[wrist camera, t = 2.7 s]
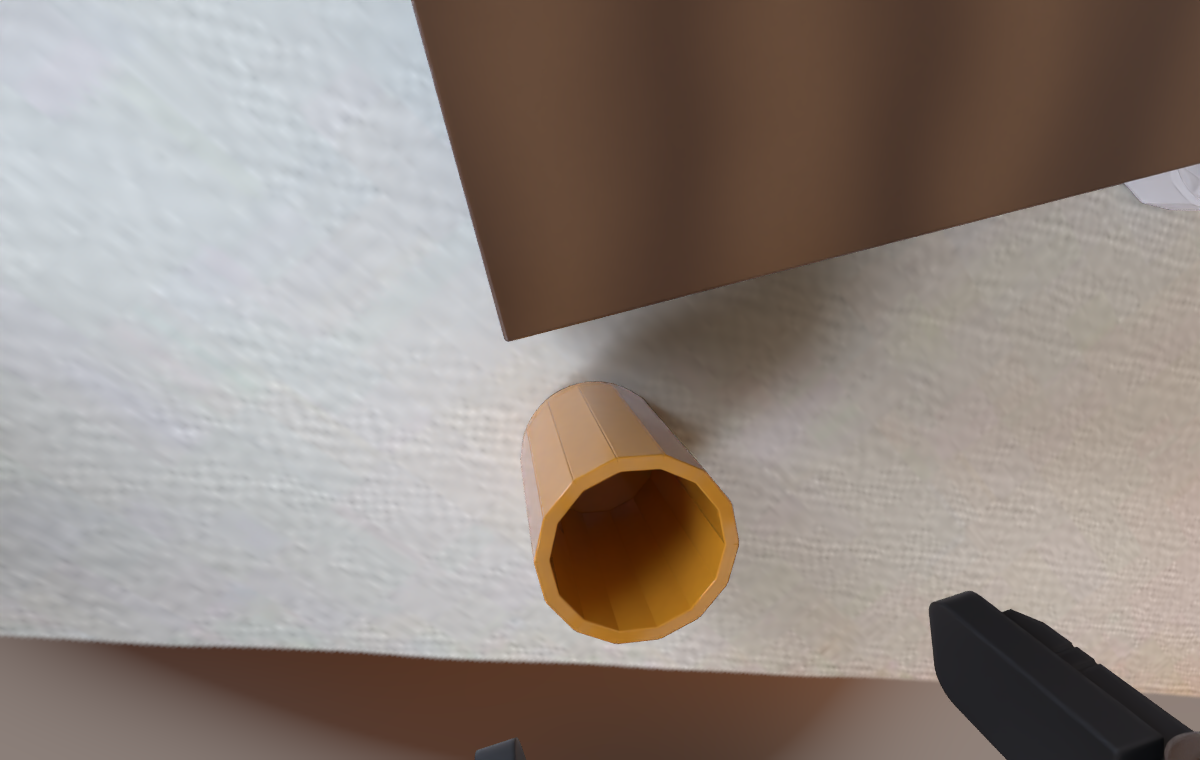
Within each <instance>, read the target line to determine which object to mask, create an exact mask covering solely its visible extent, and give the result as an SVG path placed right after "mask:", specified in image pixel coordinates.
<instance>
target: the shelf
mask: <svg viewBox="0 0 1200 760" xmlns="http://www.w3.org/2000/svg"><path fill="white" fill-rule="evenodd" d="M411 2H412V6H413V9H414V13H415V16H416V20H417V24H418V27H419V31H420V35H421V38H422V42H423V45H424V49H425V53H426V56H427V60H428V64H429V67H430V71H431V75H432V78H433V82H434V85H435V89H436V93H437V96H438V100H439V104H440V107H441V111H442V114H443V118H444V122H445V125H446V129H447V133H448V136H449V140H450V143H451V147H452V151H453V154H454V158H455V162H456V165H457V169H458V172H459V176H460V180H461V183H462V187H463V191H464V194H465V198H466V201H467V205H468V209H469V212H470V216H471V220H472V223H473V227H474V230H475V234H476V238H477V241H478V245H479V249H480V252H481V256H482V259H483V263H484V267H485V270H486V274H487V278H488V281H489V285H490V288H491V292H492V296H493V299H494V303H495V307H496V310H497V314H498V318H499V321H500V325H501V328H502V332H503V336H504V339H505V340H506V341H508V342H509V341H513V340H517V339H521V338H525V337H529V336H533V335H536V334H540V333H544V332H548V331H552V330H556V329H560V328H564V327H568V326H571V325H575V324H579V323H583V322H587V321H591V320H595V319H599V318H603V317H606V316H610V315H614V314H618V313H622V312H626V311H630V310H634V309H637V308H641V307H645V306H649V305H653V304H657V303H661V302H665V301H669V300H672V299H676V298H680V297H684V296H688V295H692V294H696V293H700V292H703V291H707V290H711V289H715V288H719V287H723V286H727V285H731V284H735V283H738V282H742V281H746V280H750V279H754V278H758V277H762V276H766V275H769V274H773V273H777V272H781V271H785V270H789V269H793V268H797V267H801V266H804V265H808V264H812V263H816V262H820V261H824V260H828V259H832V258H835V257H839V256H843V255H847V254H851V253H855V252H859V251H863V250H867V249H870V248H874V247H878V246H882V245H886V244H890V243H894V242H898V241H902V240H905V239H909V238H913V237H917V236H921V235H925V234H929V233H933V232H936V231H940V230H944V229H948V228H952V227H956V226H960V225H964V224H968V223H971V222H975V221H979V220H983V219H987V218H991V217H995V216H999V215H1002V214H1006V213H1010V212H1014V211H1018V210H1022V209H1026V208H1030V207H1034V206H1037V205H1041V204H1045V203H1049V202H1053V201H1057V200H1061V199H1065V198H1068V197H1072V196H1076V195H1080V194H1084V193H1088V192H1092V191H1096V190H1100V189H1103V188H1107V187H1111V186H1115V185H1119V184H1123V183H1127V182H1131V181H1134V180H1138V179H1142V178H1146V177H1150V176H1154V175H1158V174H1162V173H1166V172H1169V171H1173V170H1177V169H1181V168H1185V167H1189V166H1193V165H1197V164H1200V0H411Z"/></svg>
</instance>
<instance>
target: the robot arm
mask: <svg viewBox="0 0 1200 760" xmlns="http://www.w3.org/2000/svg"><path fill="white" fill-rule="evenodd" d="M929 617H930V627H931V637H932V647H933V656H934V666H935V671H936V674H937V677H938V680H939V682H940V684H941V686H942V688H943V690H944V692H945V693H946V695H947V696H948V698H949V699H950V700H951V702H953V704H954V705H955V706H956V707H957V708H958V709H959V710H960V711H961V712H962V713H963V714H964V715H965V717H967V719H968V720H969V721H970V722H971V723H972V724H973V725H974V726H975V727H976V728H977V729H978V730H979V731H980V732H981V733H982V734H983V735H984V736H985V737H986V739H987V740H989V742H990V743H991V744H992V745H993V746H994V747H995V748H996V749H997V750H998V751H999V752H1000V753H1001V754H1002V755H1003V756H1004V757H1005V758H1006V759H1007V760H1200V732H1194V731H1193V730H1191V729H1190V728H1188V727H1187V726H1185V725H1184V724H1182V723H1181V722H1180V721H1178V720H1177V719H1176V718H1174V717H1173V716H1171V715H1170V714H1169V713H1167V712H1166V711H1164V710H1163V709H1162V708H1160V707H1159V706H1158V705H1156V704H1155V703H1153V702H1152V701H1151V700H1149V699H1148V698H1147V697H1145V696H1144V695H1143V694H1141V693H1140V692H1138V691H1137V690H1136V689H1134V688H1133V687H1132V686H1130V685H1129V684H1127V683H1126V682H1125V681H1123V680H1122V679H1121V678H1119V677H1118V676H1116V675H1115V674H1114V673H1112V672H1111V671H1110V670H1108V669H1107V668H1105V667H1104V666H1103V665H1101V664H1097V663H1096V662H1095V660H1094V659H1093V658H1092V657H1090V656H1089V655H1088V654H1086V653H1085V652H1083V651H1082V650H1081V649H1079V648H1078V647H1073V645H1072V643H1071V642H1070V641H1068V640H1067V639H1066V638H1064V637H1063V636H1061V635H1060V634H1059V633H1057V632H1056V631H1055V630H1053V629H1052V628H1050V627H1049V626H1048V625H1046V624H1045V623H1043V622H1041V621H1038V620H1036V619H1033V618H1031V617H1028V616H1026V615H1024V614H1021V613H1019V612H1016V611H1014V610H1011V609H1010V610H1007V611H1004V612H1001V611H999V610H998V609H997V608H996V607H994V606H993V605H992V604H990V603H989V602H988V601H986V600H985V599H984V598H983V597H981V596H980V595H978V594H977V593H975V592H973V591H966V592H963V593H960V594H957V595H954V596H951V597H948V598H945V599H942V600H938V601H935V602H933V603H931V604H930V607H929ZM475 760H526V759H525V755H524V752H523V749H522V746H521V744H520V741H519V739H518V738H517V737H516V738H513V739H510V740H507V741H504V742H501V743H498V744H495V745H492V746H489V747H486V748H483V749H480V750H477V751H476V753H475Z"/></svg>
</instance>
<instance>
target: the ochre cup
mask: <svg viewBox="0 0 1200 760" xmlns="http://www.w3.org/2000/svg"><path fill="white" fill-rule="evenodd" d="M520 460H521V469H522V477H523V484H524V492H525V499H526V507H527V515H528V522H529V530H530V538H531V545H532V553H533V561H534V565H535V569H536V572H537V576H538V579H539V583H540V586H541V589H542V593H543V596H544V600H545V601H546V603H547V604H548V605H549V606H550V607H551V608H552V609H553V610H554V611H555V612H556V613H557V614H558V615H559V616H560V617H561V618H562V619H563V620H564V621H565V622H566V623H567V624H568V625H569V626H570V627H571V628H572V629H573V630H575V631H576V632H579V633H582V634H585V635H588V636H592V637H595V638H598V639H601V640H604V641H608V642H611V643H614V644H616V643H617V644H622V643H631V642H640V641H648V640H657V639H659V638H660V639H661V638H663V637H665V636H667V635H669V634H671V633H672V632H674V631H676V630H678V629H680V628H682V627H683V626H685V625H687V624H689V623H691V622H693V621H695V620H696V619H698V618H699V617H701V615H702V614H703V613H704V612H705V611H706V609H707V608H708V607H709V606H710V605H711V603H712V602H713V601H714V600H715V599H716V597H717V596H718V595H719V594H720V593H721V591H722V590H723V589H724V588H725V587H726V585H727V583H728V581H729V578H730V574H731V571H732V567H733V564H734V560H735V557H736V553H737V550H738V547H739V538H738V533H737V527H736V522H735V516H734V511H733V506H732V503H731V501H730V500H729V498H728V497H727V496H726V495H725V494H724V492H723V491H722V490H721V489H720V487H719V486H718V485H717V484H716V483H715V481H714V480H713V479H712V478H711V477H710V475H709V474H708V473H707V472H706V471H705V469H704V468H703V467H702V466H701V465H700V464H699V463H698V461H697V460H696V459H695V458H694V457H693V456H692V455H691V453H690V452H689V451H688V450H687V449H686V448H685V447H684V445H683V444H682V443H681V442H680V441H679V440H678V438H677V437H676V436H675V435H674V434H673V433H672V432H671V430H670V429H669V428H668V427H667V426H666V425H665V424H664V422H663V421H662V420H661V419H660V418H659V417H658V416H657V414H656V413H655V412H654V411H653V410H652V409H651V408H650V406H649V405H648V404H647V403H646V402H645V401H644V400H643V398H641V397H640V396H638V395H636V394H635V393H633V392H632V391H630V390H628V389H626V388H624V387H622V386H619V385H616V384H613V383H607V382H596V381H594V382H584V383H579V384H575V385H572V386H569V387H566V388H564V389H562V390H560V391H558V392H557V393H555V394H554V395H552V396H551V397H549V398H548V399H547V400H546V401H545V402H544V403H543V404H542V405H541V406H540V407H539V408H538V409H537V410H536V412H535V413H534V415H533V416H532V417H531V419H530V421H529V423H528V425H527V427H526V430H525V433H524V436H523V441H522V450H521V459H520Z"/></svg>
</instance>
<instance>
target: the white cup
mask: <svg viewBox="0 0 1200 760" xmlns="http://www.w3.org/2000/svg"><path fill="white" fill-rule="evenodd" d="M1124 184H1125V185H1126V186H1127V187H1128V188H1129V189H1130V190H1131V192H1132V193H1133V194H1134V195H1135V196H1136V197H1137V198H1138V199H1139V201H1140V202H1142V203H1144V204H1148V205H1152V206H1156V207H1160V208H1164V209H1168V210H1199V211H1200V164H1197V165H1193V166H1189V167H1185V168H1181V169H1177V170H1173V171H1169V172H1166V173H1162V174H1158V175H1154V176H1150V177H1146V178H1142V179H1138V180H1134V181H1131V182H1127V183H1124Z"/></svg>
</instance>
